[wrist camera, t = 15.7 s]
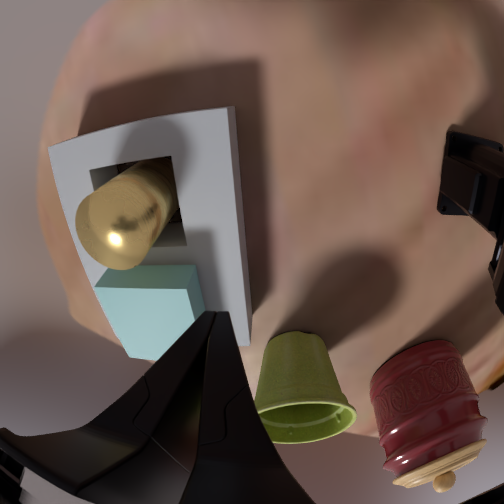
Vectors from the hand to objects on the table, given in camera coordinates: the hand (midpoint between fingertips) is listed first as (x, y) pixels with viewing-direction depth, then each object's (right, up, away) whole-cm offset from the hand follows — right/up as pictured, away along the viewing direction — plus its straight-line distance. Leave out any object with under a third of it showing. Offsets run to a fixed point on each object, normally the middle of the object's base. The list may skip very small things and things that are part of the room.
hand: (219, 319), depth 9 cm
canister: (+22, -13, +20) cm, 32 cm away
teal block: (-5, -2, +10) cm, 11 cm away
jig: (-5, +4, +11) cm, 13 cm away
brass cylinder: (-6, +7, +9) cm, 13 cm away
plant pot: (+5, -7, +17) cm, 20 cm away
